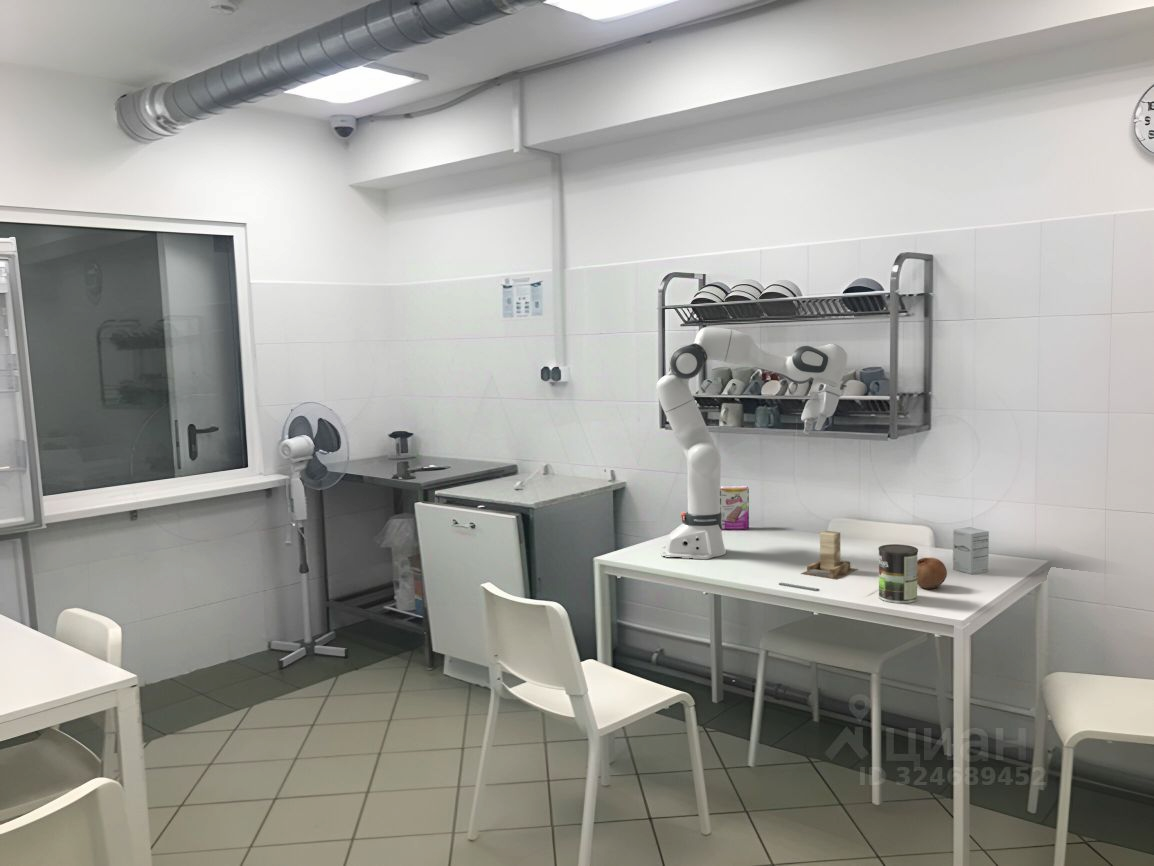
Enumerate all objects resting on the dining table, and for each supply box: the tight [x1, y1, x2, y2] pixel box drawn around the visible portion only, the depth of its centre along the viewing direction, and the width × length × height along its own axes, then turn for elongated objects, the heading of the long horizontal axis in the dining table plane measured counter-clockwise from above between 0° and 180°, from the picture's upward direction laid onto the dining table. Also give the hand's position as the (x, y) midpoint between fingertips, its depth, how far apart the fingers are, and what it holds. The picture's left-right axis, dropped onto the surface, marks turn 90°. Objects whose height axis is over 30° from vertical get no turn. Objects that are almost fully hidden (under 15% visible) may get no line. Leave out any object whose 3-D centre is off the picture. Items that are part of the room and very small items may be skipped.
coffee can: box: [878, 543, 919, 604], centre depth 248 cm, size 10×10×14 cm
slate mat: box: [778, 582, 820, 592], centre depth 267 cm, size 12×12×1 cm
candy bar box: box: [720, 485, 750, 531], centre depth 347 cm, size 11×5×16 cm, turn 84°
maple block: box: [819, 530, 842, 572], centre depth 278 cm, size 4×4×12 cm
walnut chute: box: [800, 560, 859, 580], centre depth 278 cm, size 15×12×3 cm
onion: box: [917, 557, 948, 590], centre depth 258 cm, size 10×9×10 cm
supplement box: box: [952, 526, 990, 575], centre depth 274 cm, size 7×7×13 cm
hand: (811, 431), depth 295 cm, fingers open, 8 cm apart
